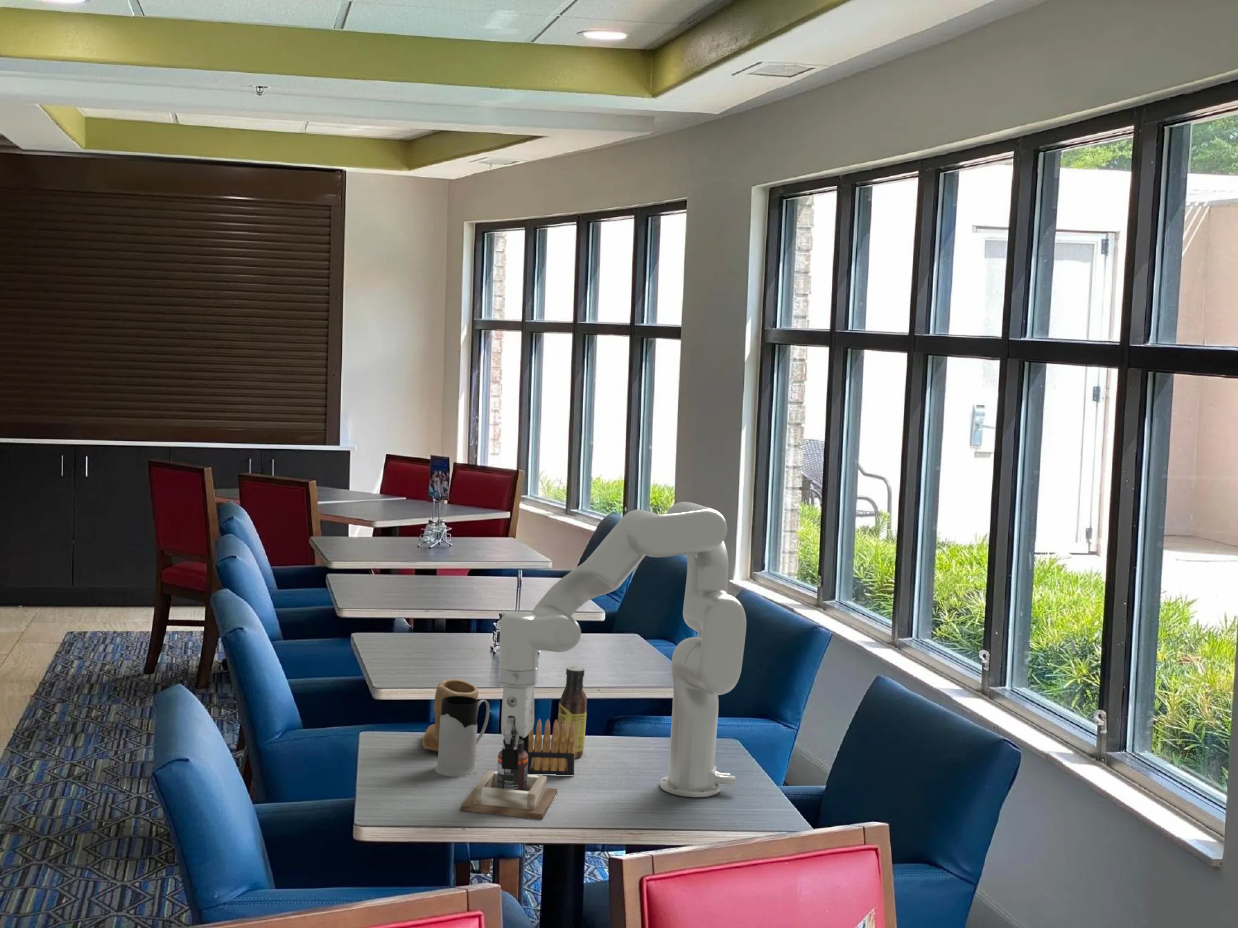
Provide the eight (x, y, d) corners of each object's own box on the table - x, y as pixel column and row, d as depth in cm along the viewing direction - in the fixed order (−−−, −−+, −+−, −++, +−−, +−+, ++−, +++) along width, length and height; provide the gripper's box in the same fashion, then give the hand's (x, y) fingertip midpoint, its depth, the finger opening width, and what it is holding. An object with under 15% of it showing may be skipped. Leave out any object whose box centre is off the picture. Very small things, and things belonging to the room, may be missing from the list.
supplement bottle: (523, 791, 267) (526, 736, 267) (529, 801, 262) (532, 744, 261) (493, 792, 266) (496, 736, 265) (498, 802, 260) (502, 745, 259)
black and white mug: (426, 770, 281) (430, 699, 280) (470, 756, 293) (473, 688, 292) (458, 779, 276) (462, 707, 275) (501, 764, 288) (505, 696, 287)
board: (557, 793, 271) (558, 774, 271) (542, 819, 255) (543, 798, 255) (479, 785, 273) (481, 766, 273) (460, 810, 257) (461, 790, 257)
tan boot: (472, 757, 292) (475, 690, 291) (417, 754, 292) (420, 686, 291) (479, 738, 307) (483, 674, 306) (427, 735, 307) (431, 671, 306)
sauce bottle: (554, 750, 301) (559, 663, 299) (582, 751, 301) (587, 664, 300) (556, 759, 294) (561, 670, 293) (585, 760, 295) (590, 671, 293)
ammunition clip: (573, 774, 285) (576, 719, 284) (574, 777, 283) (577, 721, 282) (523, 772, 284) (526, 716, 283) (523, 775, 282) (526, 719, 281)
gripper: (528, 687, 253) (525, 776, 255) (545, 667, 270) (542, 750, 272) (489, 685, 254) (486, 773, 255) (508, 664, 271) (506, 747, 273)
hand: (515, 761), depth 264 cm, fingers open, 9 cm apart
